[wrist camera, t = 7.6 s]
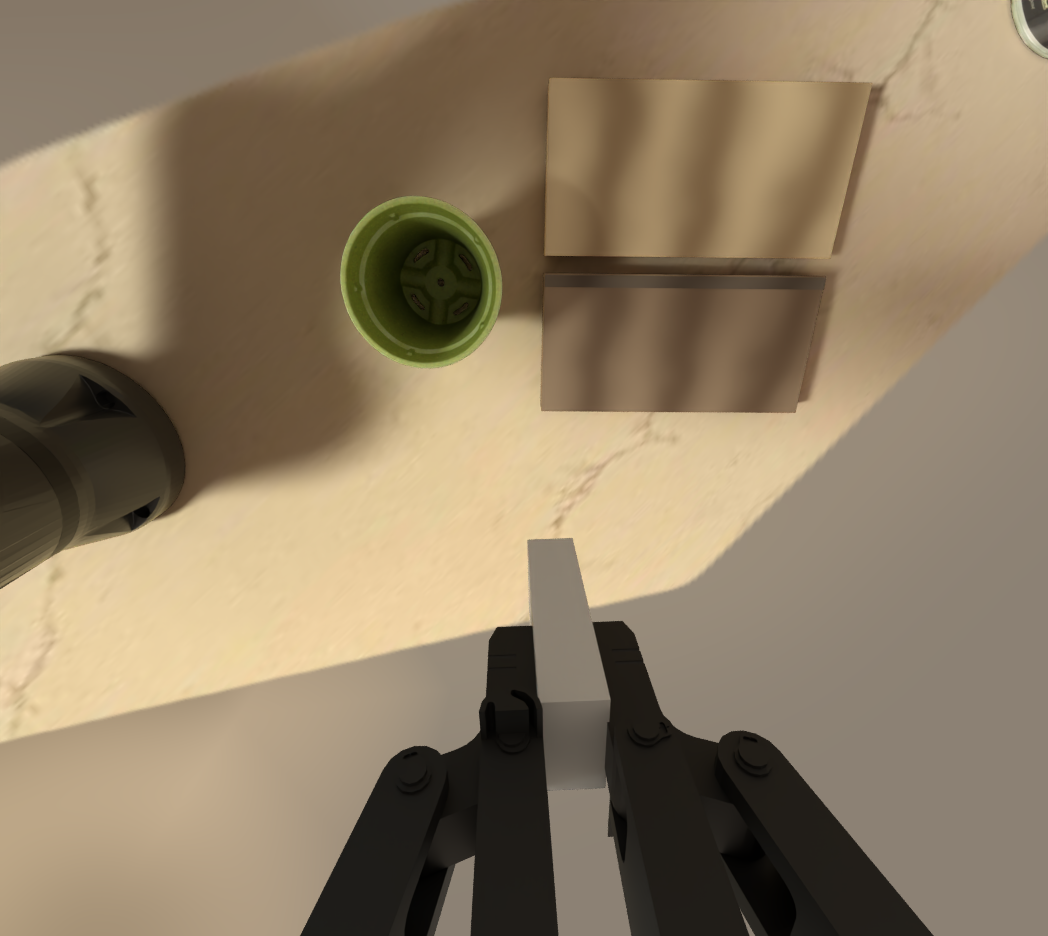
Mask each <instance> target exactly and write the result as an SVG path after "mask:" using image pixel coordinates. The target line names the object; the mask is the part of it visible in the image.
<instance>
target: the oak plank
mask: <svg viewBox="0 0 1048 936" xmlns="http://www.w3.org/2000/svg"><path fill="white" fill-rule="evenodd" d="M871 87H872V83H851V82H788V81H725V80H662V79H599V78H550V79H549V85H548V105H547V147H546V188H545V229H544V256H627V257H719V258H811V259H830V257H831V253H832V249H833V245H834V241H835V237H836V233H837V228H838V224H839V220H840V216H841V212H842V208H843V204H844V199H845V195H846V191H847V187H848V183H849V179H850V174H851V170H852V166H853V162H854V158H855V154H856V150H857V145H858V141H859V137H860V133H861V129H862V125H863V120H864V116H865V112H866V108H867V104H868V100H869V96H870V91H871Z"/></svg>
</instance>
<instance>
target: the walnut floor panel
mask: <svg viewBox="0 0 1048 936" xmlns="http://www.w3.org/2000/svg"><path fill="white" fill-rule="evenodd" d="M825 281H826V276H764V275H667V274H570V273H543V315H542V359H541V403H540V405H541V411H601V412H755V413H795V412H796V408H797V403H798V399H799V395H800V390H801V386H802V381H803V377H804V372H805V368H806V364H807V359H808V355H809V350H810V346H811V341H812V337H813V333H814V328H815V324H816V319H817V315H818V310H819V306H820V302H821V297H822V293H823V290H824V286H825Z"/></svg>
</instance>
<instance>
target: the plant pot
mask: <svg viewBox="0 0 1048 936" xmlns="http://www.w3.org/2000/svg"><path fill="white" fill-rule="evenodd" d="M423 249H428V250H429V253H427V254H425V255H424V256H422V257H421V258H420V259H419V260H417V262H414V261H415V260H414V259H415V257H416V255H417V254H418V253H419V252H420V251H422V250H423ZM459 254H463V255H464V256H465V257H466V258H467V260H468V261H469V262H470V264H471V266H472V270H471V271H469V270H468V268H467V266H466V265H465V263H464V262H463V261H462V259H461V258H460V257H459ZM439 279H442V280H443V281H444V285H443V286H439V284H438V280H439ZM340 283H341V291H342V295H343V299H344V303H345V306H346V309H347V312H348V314H349V316H350V318H351V320H352V322H353V324H354V325H355V327H356V329H357V330H358V331H359V333H360V334H361V335H362V336H363V337H364V339H365V340H366V341H367V342H368V343H369V344H370V345H371V346H372V347H373V348H375V349H376V350H377V351H378V352H380V353H381V354H383V355H384V356H386V357H387V358H389V359H391V360H393V361H395V362H397V363H400V364H403V365H407V366H411V367H416V368H439V367H444V366H448V365H451V364H454V363H456V362H458V361H460V360H462V359H464V358H465V357H467V356H468V355H470V354H471V353H472V352H474V351H475V350H476V349H477V348H478V347H479V346H480V345H481V344H482V343H483V341H484V340H485V339H486V337H487V336H488V334H489V333H490V331H491V330H492V328H493V326H494V324H495V321H496V319H497V316H498V313H499V310H500V306H501V299H502V275H501V270H500V265H499V262H498V259H497V256H496V253H495V251H494V249H493V247H492V245H491V243H490V241H489V239H488V238H487V236H486V235H485V233H484V232H483V231H482V230H481V228H480V227H479V226H478V225H477V224H476V223H475V222H474V221H473V220H472V219H471V218H470V217H469V216H468V215H466V214H465V213H464V212H462V211H461V210H459V209H458V208H456V207H454V206H453V205H450V204H448V203H446V202H444V201H441V200H438V199H434V198H430V197H423V196H404V197H399V198H395V199H392V200H389V201H387V202H384V203H382V204H381V205H379V206H377V207H375V208H374V209H372V210H371V211H370V212H368V213H367V214H366V215H365V216H364V217H363V218H362V219H361V221H360V222H359V223H358V224H357V225H356V227H355V228H354V230H353V231H352V233H351V235H350V237H349V239H348V241H347V243H346V246H345V249H344V252H343V256H342V261H341V269H340ZM412 294H415V295H416V297H417V299H418V300H419V302H420V303H421V304H422V305H423V306H424V307H425V309H423V310H421V309H420V308H419V306H418V305H417V304H416V303H414V301H413V299H412V297H411V296H412ZM466 302H467V303H468V307H467V309H466V310H464V311H463V312H462V313H460V314H458V315H454V314H453V313H454V311H456V310H457V309H459V308H461V307H462V306H463V305H464V303H466Z"/></svg>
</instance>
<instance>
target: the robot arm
mask: <svg viewBox="0 0 1048 936" xmlns="http://www.w3.org/2000/svg"><path fill="white" fill-rule="evenodd" d="M184 472H185V463H184V454H183V450H182V446H181V443H180V440H179V437H178V434H177V432H176V430H175V428H174V426H173V424H172V423H171V421H170V419H169V418H168V416H167V415H166V413H165V412H164V411H163V409H162V408H161V407H160V406H159V404H158V403H157V402H156V401H155V400H154V399H153V398H152V397H151V396H150V395H149V394H148V393H147V392H146V391H145V390H144V389H143V388H141V387H140V386H139V385H138V384H136V383H135V382H134V381H132V380H131V379H130V378H128V377H127V376H125V375H123V374H122V373H120V372H118V371H116V370H114V369H112V368H110V367H108V366H106V365H104V364H101V363H98V362H96V361H93V360H89V359H85V358H81V357H76V356H69V355H48V356H42V357H36V358H31V359H25V360H20V361H15V362H12V363H8V364H6V365H3V366H1V367H0V589H1V588H3V587H4V586H6V585H8V584H9V583H11V582H12V581H14V580H15V579H17V578H19V577H20V576H22V575H23V574H25V573H26V572H28V571H30V570H31V569H33V568H34V567H36V566H37V565H39V564H41V563H42V562H44V561H45V560H47V559H48V558H50V557H52V556H53V555H55V554H57V553H59V552H60V551H62V550H66V549H70V548H74V547H78V546H82V545H85V544H89V543H93V542H97V541H101V540H105V539H109V538H113V537H117V536H121V535H124V534H127V533H130V532H132V531H135V530H137V529H139V528H141V527H143V526H144V525H146V524H147V523H149V522H150V521H152V520H153V519H155V518H156V517H158V516H159V515H161V514H162V513H163V512H165V511H166V510H167V509H168V508H169V507H170V506H171V505H172V504H173V502H174V501H175V499H176V498H177V496H178V494H179V492H180V490H181V487H182V484H183V480H184ZM528 582H529V613H530V626H511V627H497V628H496V630H495V631H494V633H493V635H492V636H491V638H490V640H489V650H488V671H487V688H486V697H485V699H484V700H483V701H482V703H481V707H480V710H479V718H480V732H479V733H478V734H477V736H476V737H475V738H474V739H473V740H472V741H470V742H469V743H468V744H467V745H465V746H463V747H461V748H459V749H456V750H454V751H451V752H448V753H445V754H443V755H440V753H439V752H438V751H437V750H435V749H432V748H430V747H427V746H414V747H411V748H408V749H405V750H402V751H401V752H400V753H398V754H397V755H395V756H394V757H393V758H392V759H391V760H390V761H389V762H388V764H387V765H386V767H385V768H384V769H383V771H382V773H381V775H380V777H379V779H378V781H377V783H376V785H375V787H374V789H373V791H372V793H371V795H370V797H369V799H368V801H367V803H366V805H365V807H364V809H363V811H362V813H361V815H360V817H359V819H358V821H357V823H356V825H355V827H354V829H353V831H352V833H351V835H350V837H349V839H348V841H347V843H346V845H345V847H344V849H343V851H342V853H341V855H340V857H339V859H338V861H337V863H336V866H335V867H334V869H333V871H332V873H331V875H330V877H329V879H328V881H327V883H326V885H325V887H324V889H323V891H322V893H321V895H320V897H319V899H318V902H317V903H316V905H315V907H314V909H313V911H312V913H311V915H310V917H309V919H308V921H307V923H306V925H305V927H304V929H303V931H302V933H301V935H300V936H434V934H435V931H436V927H437V924H438V921H439V917H440V914H441V911H442V907H443V904H444V901H445V897H446V894H447V890H448V887H449V884H450V881H451V877H452V874H453V871H454V867H455V864H456V863H458V862H460V861H463V860H465V859H467V858H470V857H472V856H474V855H475V864H474V865H475V866H474V882H473V901H472V920H471V936H558V924H557V912H556V899H555V886H554V872H553V859H552V846H551V833H550V820H549V807H548V794H547V791H551V790H571V789H572V790H573V789H594V788H595V789H596V788H605V786H606V777H607V782H608V788H609V793H610V804H609V819H608V837H614V842H615V848H616V853H617V858H618V864H619V870H620V875H621V881H622V886H623V892H624V897H625V902H626V908H627V914H628V919H629V924H630V930H631V936H749V933H748V931H747V928H746V925H745V923H744V919H743V917H742V914H741V911H742V913H743V915H744V916H745V918H746V920H747V922H748V924H749V925H750V927H751V929H752V931H753V933H754V934H755V936H933V935H932V933H931V932H930V931H929V930H928V929H927V927H926V926H925V925H924V924H923V923H922V921H921V920H920V919H919V918H918V916H917V915H916V914H915V913H914V912H913V910H912V909H911V908H910V907H909V906H908V905H907V903H906V902H905V901H904V900H903V898H902V897H901V896H900V895H899V894H898V892H897V891H896V890H895V889H894V888H893V886H892V885H891V884H890V883H889V882H888V880H887V879H886V878H885V877H884V876H883V874H882V873H881V872H880V871H879V870H878V868H877V867H876V866H875V865H874V864H873V862H872V861H871V860H870V859H869V858H868V857H867V855H866V854H865V853H864V852H863V850H862V849H861V848H860V847H859V846H858V844H857V843H856V842H855V841H854V840H853V838H852V837H851V836H850V835H849V834H848V832H847V831H846V830H845V829H844V827H843V826H842V825H841V824H840V823H839V821H838V820H837V819H836V818H835V817H834V816H833V814H832V813H831V812H830V811H829V810H828V808H827V807H826V806H825V805H824V804H823V802H822V801H821V800H820V799H819V797H818V796H817V795H816V794H815V793H814V791H813V790H812V789H811V788H810V787H809V785H808V784H807V783H806V782H805V781H804V779H803V778H802V777H801V776H800V775H799V773H798V772H797V771H796V770H795V769H794V767H793V766H792V765H791V764H790V763H789V761H788V760H787V759H786V758H785V757H784V756H783V754H782V753H781V752H780V751H779V750H778V749H777V748H776V747H775V746H774V745H773V744H772V743H771V742H770V741H768V740H766V739H765V738H763V737H761V736H759V735H757V734H755V733H751V732H747V731H733V732H732V731H731V732H729V733H728V734H726V735H724V736H722V738H721V740H720V742H719V743H716V742H712V741H708V740H704V739H700V738H696V737H693V736H690V735H687V734H685V733H683V732H682V731H680V730H678V729H677V728H675V727H674V726H673V725H672V724H671V722H670V721H669V720H668V719H667V718H666V717H665V716H664V715H663V714H662V712H661V710H660V707H659V704H658V702H657V699H656V696H655V693H654V690H653V687H652V684H651V681H650V678H649V675H648V672H647V670H646V667H645V664H644V663H643V658H642V655H641V652H640V651H639V646H638V643H637V641H636V637H635V635H634V633H633V632H632V631H631V630H630V629H629V628H628V626H627V625H625V623H624V622H623V621H611V622H592V619H591V615H590V610H589V606H588V602H587V598H586V594H585V589H584V585H583V581H582V577H581V572H580V568H579V564H578V560H577V555H576V551H575V547H574V543H573V539H572V538H562V539H534V540H528ZM740 910H741V911H740Z"/></svg>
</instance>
